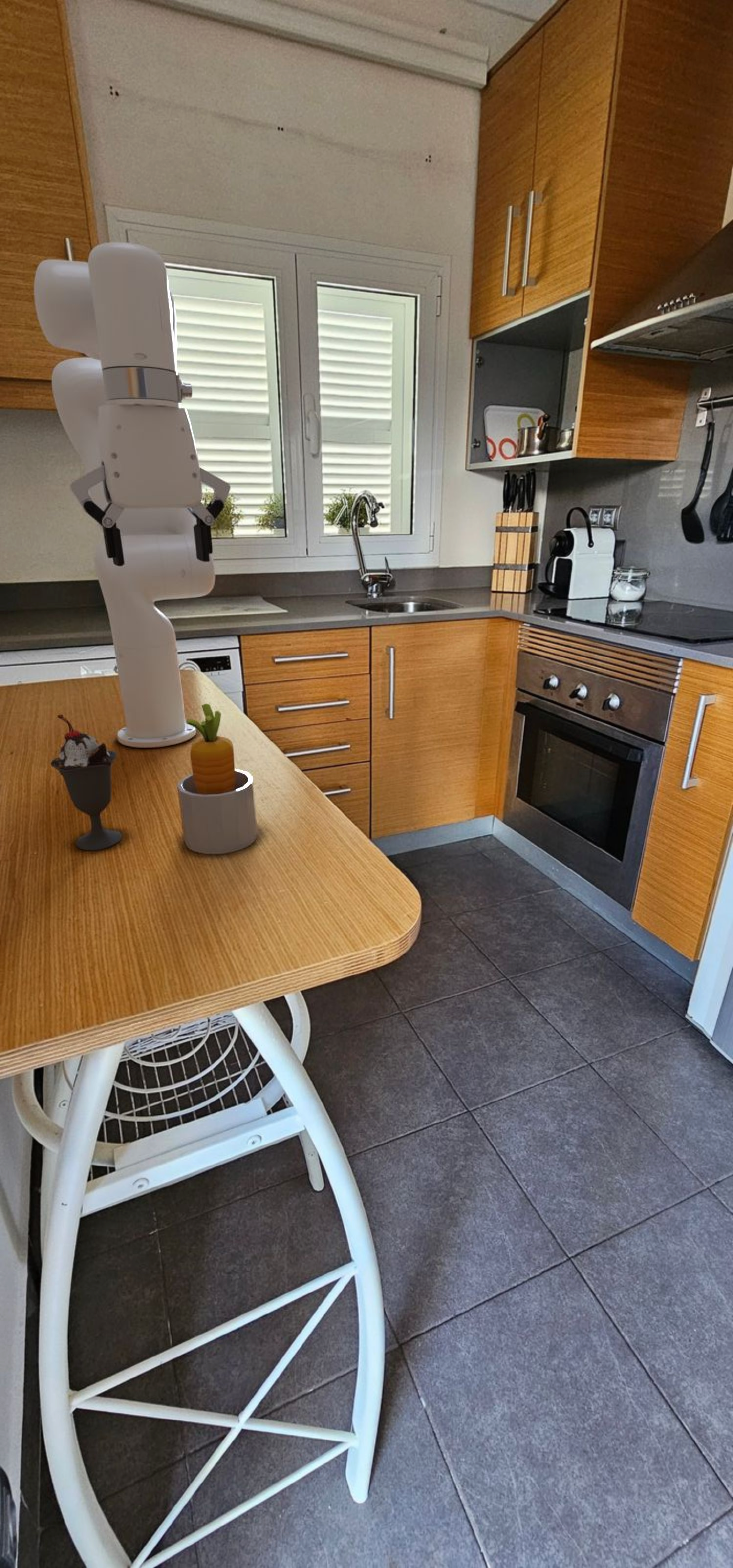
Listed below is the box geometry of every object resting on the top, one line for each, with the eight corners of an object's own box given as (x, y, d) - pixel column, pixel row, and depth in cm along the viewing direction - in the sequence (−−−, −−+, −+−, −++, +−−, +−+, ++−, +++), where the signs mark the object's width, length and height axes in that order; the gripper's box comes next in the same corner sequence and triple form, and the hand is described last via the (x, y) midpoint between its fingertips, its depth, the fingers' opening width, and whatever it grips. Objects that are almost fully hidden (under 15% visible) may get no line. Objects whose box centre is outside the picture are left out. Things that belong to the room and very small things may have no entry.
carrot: (232, 844, 75) (220, 714, 70) (191, 840, 76) (175, 712, 71) (248, 825, 80) (238, 701, 74) (209, 822, 81) (195, 699, 75)
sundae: (66, 834, 79) (42, 711, 74) (126, 824, 82) (107, 703, 76) (68, 859, 74) (41, 727, 68) (132, 847, 76) (111, 719, 71)
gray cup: (177, 831, 80) (169, 776, 77) (243, 817, 83) (239, 763, 81) (195, 861, 73) (188, 801, 70) (267, 843, 77) (263, 786, 74)
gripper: (212, 401, 78) (224, 556, 85) (50, 392, 71) (78, 563, 78) (232, 394, 72) (244, 562, 79) (58, 383, 65) (87, 570, 71)
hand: (162, 562), depth 78 cm, fingers open, 9 cm apart
